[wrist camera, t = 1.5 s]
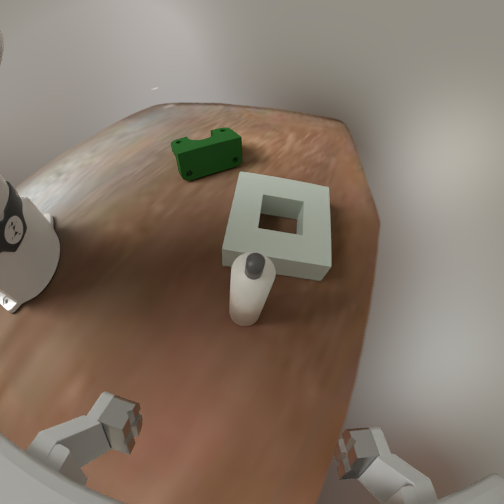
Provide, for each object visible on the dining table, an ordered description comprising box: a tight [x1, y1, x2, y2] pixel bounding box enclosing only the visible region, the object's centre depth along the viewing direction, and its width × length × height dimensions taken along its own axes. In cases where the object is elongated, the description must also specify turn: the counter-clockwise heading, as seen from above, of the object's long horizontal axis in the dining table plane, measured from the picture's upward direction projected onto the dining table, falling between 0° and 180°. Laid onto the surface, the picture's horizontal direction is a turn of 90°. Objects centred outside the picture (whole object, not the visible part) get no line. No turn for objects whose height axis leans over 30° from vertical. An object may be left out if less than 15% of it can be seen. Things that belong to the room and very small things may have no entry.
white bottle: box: [229, 252, 276, 326], centre depth 29 cm, size 4×4×14 cm
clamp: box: [171, 128, 242, 181], centre depth 46 cm, size 12×6×9 cm, turn 111°
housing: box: [222, 171, 331, 281], centre depth 40 cm, size 14×14×4 cm
